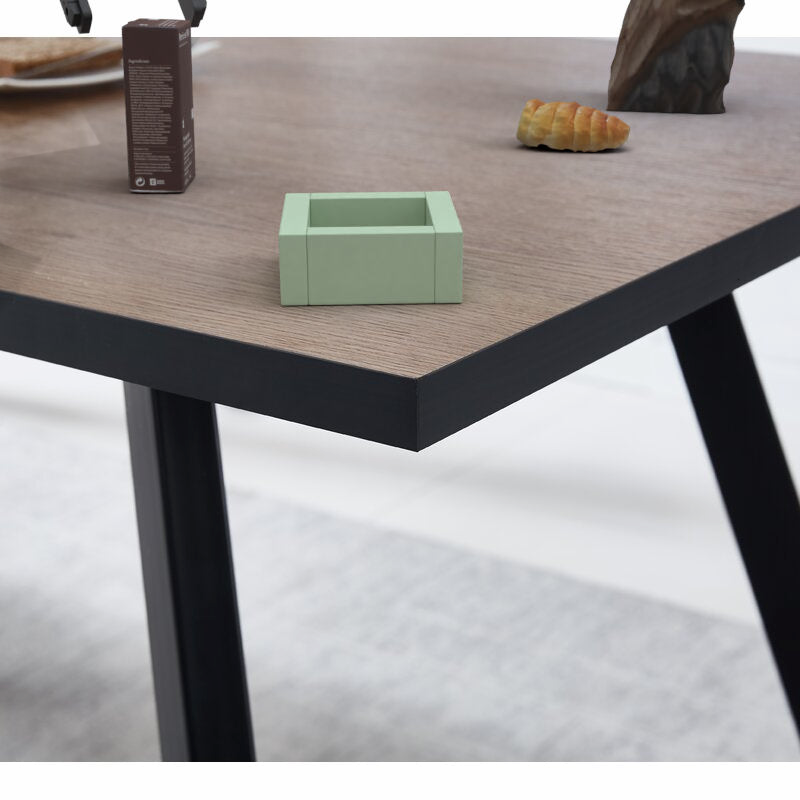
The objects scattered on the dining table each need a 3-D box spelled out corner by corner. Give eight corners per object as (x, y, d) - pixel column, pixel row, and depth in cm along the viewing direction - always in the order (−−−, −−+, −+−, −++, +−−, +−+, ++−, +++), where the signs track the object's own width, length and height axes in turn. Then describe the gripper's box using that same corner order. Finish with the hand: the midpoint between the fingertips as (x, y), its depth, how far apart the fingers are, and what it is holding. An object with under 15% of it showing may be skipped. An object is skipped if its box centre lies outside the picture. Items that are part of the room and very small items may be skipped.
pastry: (635, 143, 114) (638, 98, 113) (618, 157, 109) (620, 111, 107) (532, 136, 118) (534, 93, 116) (510, 150, 112) (511, 105, 111)
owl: (638, 92, 141) (651, -106, 134) (755, 100, 136) (775, -105, 129) (600, 110, 131) (611, -104, 124) (725, 119, 126) (745, -104, 118)
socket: (280, 306, 71) (278, 234, 70) (287, 257, 80) (285, 193, 79) (462, 303, 71) (463, 231, 70) (448, 254, 81) (448, 191, 79)
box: (189, 193, 97) (178, 25, 92) (128, 193, 97) (114, 25, 92) (201, 176, 102) (192, 17, 98) (144, 176, 102) (132, 17, 98)
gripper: (-6, -181, 96) (54, -7, 91) (178, -178, 102) (243, -16, 97) (-14, -104, 102) (41, 62, 97) (159, -106, 109) (220, 50, 104)
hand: (142, 23), depth 97 cm, fingers open, 8 cm apart
